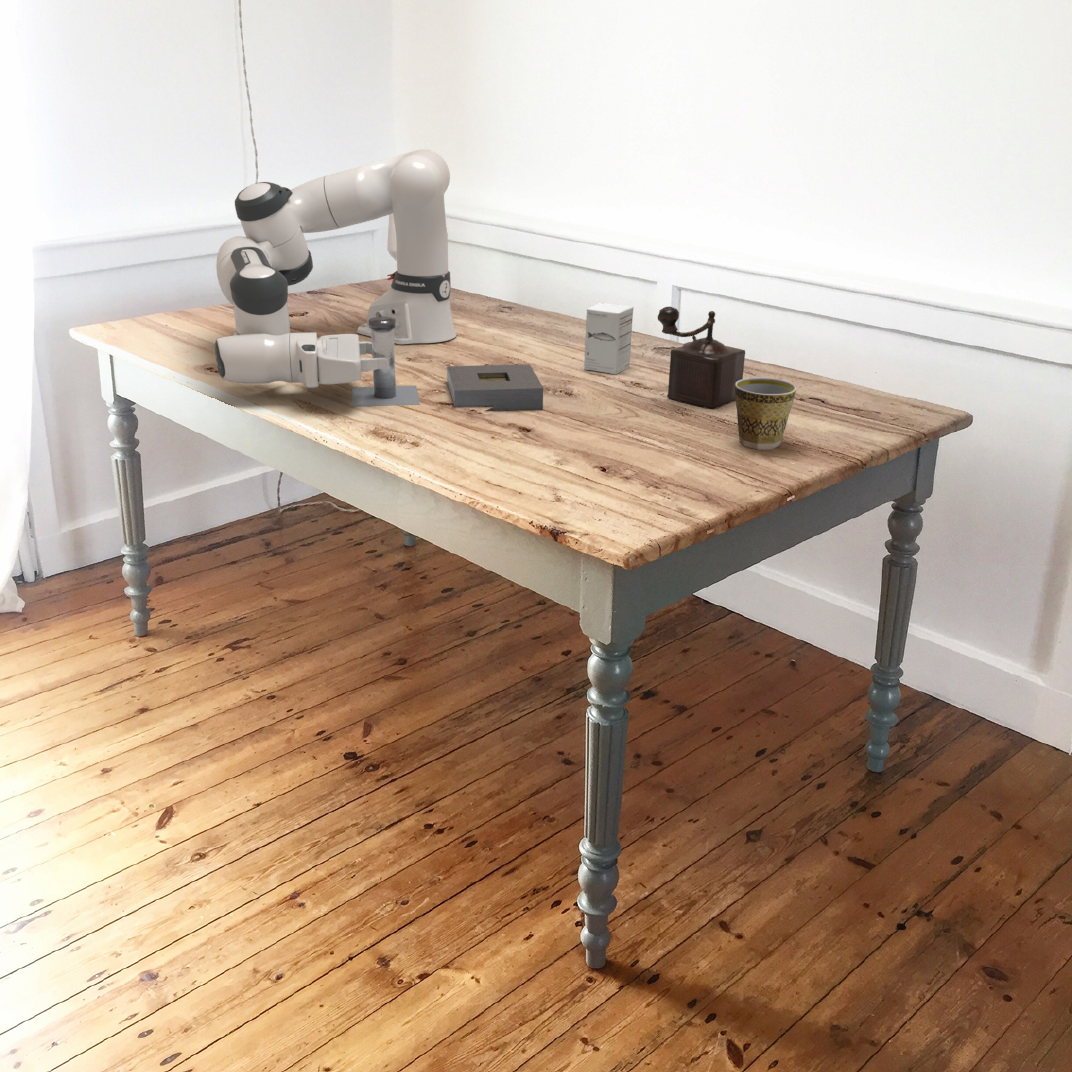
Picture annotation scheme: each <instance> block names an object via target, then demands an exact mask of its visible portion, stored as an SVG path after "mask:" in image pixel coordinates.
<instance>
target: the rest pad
mask: <svg viewBox="0 0 1072 1072" xmlns="http://www.w3.org/2000/svg"><path fill="white" fill-rule="evenodd" d="M419 397H420V396H419V391H418V387H417V385H396V396H395V397H394V398H389V399H380V398H376V397H375V396H374V386H352V387H351V398H352V401H351V403H352V408H353V407H354V408H357V407H359V408H360V407H384V406H386V407H387V406H388V407H389V406H391V407H392V406H420V405H421V403H420V398H419Z"/></svg>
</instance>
